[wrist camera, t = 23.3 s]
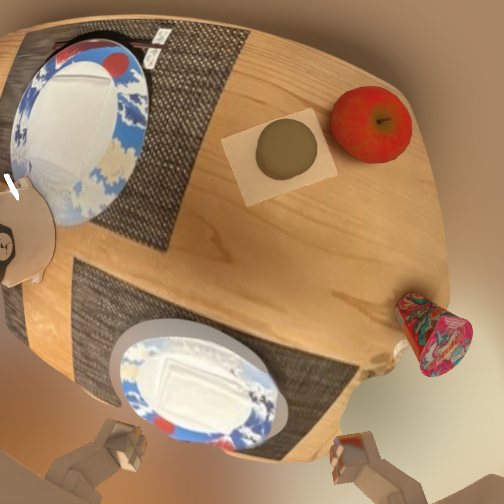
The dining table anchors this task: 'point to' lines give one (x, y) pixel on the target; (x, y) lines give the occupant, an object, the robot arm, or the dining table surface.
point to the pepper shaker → (285, 149)
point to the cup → (433, 334)
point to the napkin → (258, 184)
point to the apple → (371, 124)
